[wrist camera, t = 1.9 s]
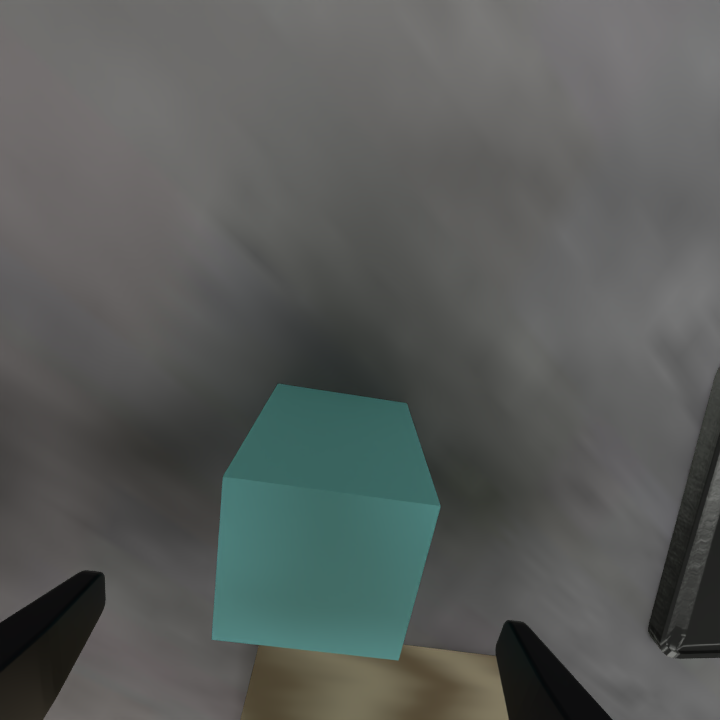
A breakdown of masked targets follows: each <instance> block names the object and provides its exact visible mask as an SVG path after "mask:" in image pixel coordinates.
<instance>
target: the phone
mask: <svg viewBox="0 0 720 720" xmlns="http://www.w3.org/2000/svg"><path fill="white" fill-rule="evenodd" d="M648 632H649V634H650V636H651V638H652V639H653V640H654V642H655V643H656V644H657V645H658V647H659V648H660V649H661V651H662V652H663V653H664V654H665V655H666V656H669V657H672V658H679V659H686V658H720V367H719V369H718V371H717V374H716V376H715V379H714V383H713V386H712V390H711V394H710V398H709V401H708V405H707V409H706V413H705V416H704V420H703V424H702V428H701V431H700V435H699V439H698V443H697V446H696V450H695V454H694V458H693V461H692V465H691V469H690V473H689V476H688V480H687V484H686V488H685V491H684V495H683V499H682V503H681V506H680V510H679V514H678V518H677V521H676V525H675V529H674V533H673V536H672V540H671V544H670V548H669V551H668V555H667V559H666V563H665V566H664V570H663V574H662V578H661V581H660V585H659V589H658V593H657V596H656V600H655V604H654V607H653V611H652V615H651V619H650V622H649V628H648Z"/></svg>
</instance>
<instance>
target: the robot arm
mask: <svg viewBox="0 0 720 720" xmlns="http://www.w3.org/2000/svg"><path fill="white" fill-rule="evenodd" d="M105 600H106V599H105V577H104V574H103V573H102V572H97V571H88V570H85V571H82V572H79V573H77V574H76V575H74V576H73V577H71V578H70V579H68V580H66V581H65V582H63V583H62V584H60V585H59V586H57V587H56V588H54V589H52V590H51V591H49V592H48V593H46V594H45V595H43V596H41V597H40V598H38V599H37V600H35V601H34V602H32V603H30V604H29V605H27V606H26V607H24V608H23V609H21V610H19V611H18V612H16V613H15V614H13V615H12V616H10V617H8V618H7V619H5V620H4V621H2V622H1V623H0V720H43V718H44V717H45V715H46V714H47V712H48V710H49V709H50V707H51V706H52V704H53V702H54V701H55V699H56V697H57V695H58V694H59V692H60V690H61V688H62V686H63V685H64V683H65V681H66V679H67V677H68V675H69V673H70V672H71V670H72V668H73V666H74V664H75V662H76V660H77V659H78V657H79V655H80V653H81V651H82V649H83V647H84V645H85V644H86V642H87V640H88V638H89V636H90V634H91V632H92V630H93V629H94V627H95V625H96V623H97V621H98V619H99V617H100V616H101V614H102V611H103V609H104V606H105ZM496 659H497V664H498V669H499V674H500V679H501V684H502V689H503V694H504V698H505V703H506V708H507V713H508V718H509V720H612V719H611V718H610V716H609V715H608V714H607V713H606V712H605V711H604V710H603V709H602V708H601V706H600V705H599V704H598V703H597V702H596V701H595V700H594V699H593V698H592V696H591V695H590V694H589V693H588V692H587V691H586V690H585V689H584V688H583V686H582V685H581V684H580V683H579V682H578V681H577V680H576V679H575V678H574V676H573V675H572V674H571V673H570V672H569V671H568V670H567V669H566V668H565V666H564V665H563V664H562V663H561V662H560V661H559V660H558V659H557V658H556V656H555V655H554V654H553V653H552V652H551V651H550V650H549V649H548V648H547V646H546V645H545V644H544V643H543V642H542V641H541V640H540V639H539V638H538V636H537V635H536V634H535V633H534V632H533V631H532V630H531V629H530V628H529V626H528V625H526V624H525V623H524V622H521V621H512V620H507V621H506V622H505V623H504V625H503V628H502V631H501V633H500V636H499V639H498V641H497V644H496Z"/></svg>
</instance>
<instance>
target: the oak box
mask: <svg viewBox="0 0 720 720" xmlns="http://www.w3.org/2000/svg"><path fill="white" fill-rule="evenodd" d="M241 720H509V718H508V713H507V708H506V703H505V698H504V694H503V689H502V684H501V679H500V674H499V669H498V664H497V659H496V656H491V655H483V654H475V653H467V652H458V651H450V650H442V649H434V648H426V647H418V646H410V645H403V646H402V650H401V654H400V657H399V660H390V659H381V658H372V657H363V656H354V655H345V654H336V653H327V652H318V651H309V650H300V649H291V648H282V647H273V646H264V645H259V647H258V651H257V655H256V659H255V663H254V667H253V671H252V675H251V679H250V683H249V687H248V691H247V695H246V699H245V704H244V708H243V712H242V716H241Z"/></svg>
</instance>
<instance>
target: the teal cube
mask: <svg viewBox="0 0 720 720" xmlns="http://www.w3.org/2000/svg"><path fill="white" fill-rule="evenodd" d="M440 507H441V506H440V503H439V500H438V497H437V493H436V490H435V487H434V484H433V481H432V478H431V475H430V472H429V469H428V466H427V463H426V460H425V457H424V454H423V451H422V448H421V445H420V442H419V439H418V436H417V433H416V430H415V427H414V424H413V421H412V418H411V415H410V412H409V408H408V405H407V403H403V402H396V401H389V400H383V399H376V398H370V397H363V396H357V395H350V394H343V393H337V392H330V391H324V390H317V389H311V388H304V387H297V386H291V385H284V384H277V386H276V388H275V389H274V391H273V393H272V394H271V396H270V398H269V399H268V401H267V403H266V405H265V406H264V408H263V410H262V411H261V413H260V415H259V416H258V418H257V420H256V421H255V423H254V425H253V426H252V428H251V430H250V432H249V433H248V435H247V437H246V438H245V440H244V442H243V443H242V445H241V447H240V448H239V450H238V452H237V454H236V455H235V457H234V459H233V460H232V462H231V464H230V465H229V467H228V469H227V470H226V472H225V474H224V476H223V482H222V497H221V511H220V526H219V540H218V555H217V569H216V584H215V598H214V612H213V627H212V640H219V641H228V642H237V643H246V644H255V645H264V646H273V647H282V648H291V649H300V650H309V651H318V652H327V653H336V654H345V655H354V656H363V657H372V658H381V659H390V660H399V657H400V654H401V650H402V646H403V643H404V639H405V635H406V632H407V628H408V624H409V621H410V617H411V613H412V610H413V606H414V602H415V599H416V595H417V591H418V588H419V584H420V580H421V577H422V573H423V569H424V566H425V562H426V558H427V555H428V551H429V547H430V544H431V540H432V536H433V533H434V529H435V525H436V522H437V518H438V514H439V511H440Z"/></svg>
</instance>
